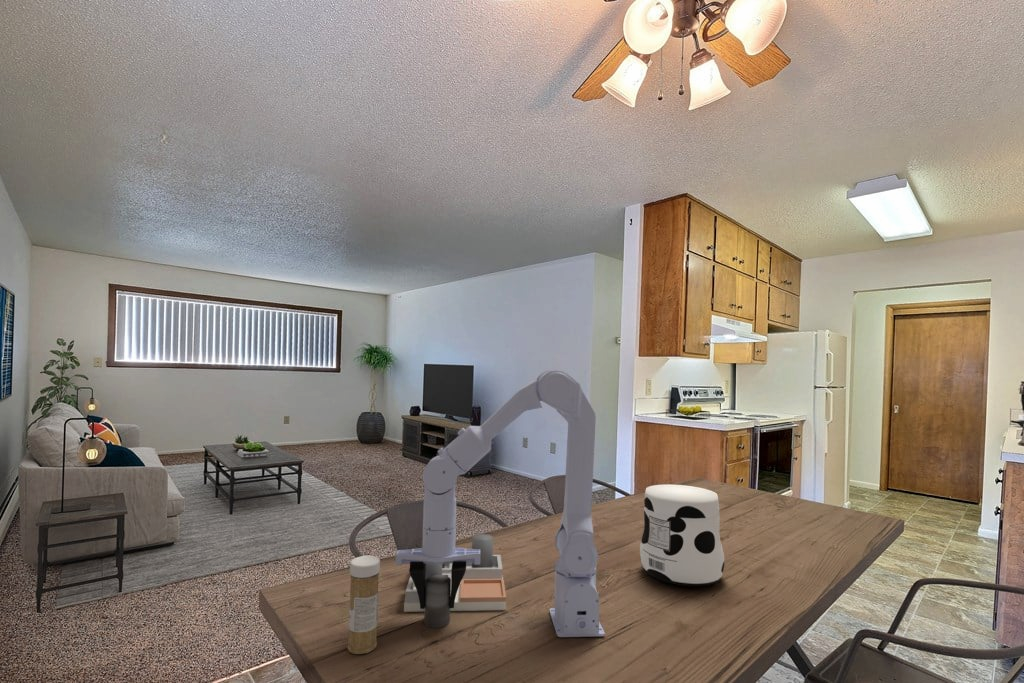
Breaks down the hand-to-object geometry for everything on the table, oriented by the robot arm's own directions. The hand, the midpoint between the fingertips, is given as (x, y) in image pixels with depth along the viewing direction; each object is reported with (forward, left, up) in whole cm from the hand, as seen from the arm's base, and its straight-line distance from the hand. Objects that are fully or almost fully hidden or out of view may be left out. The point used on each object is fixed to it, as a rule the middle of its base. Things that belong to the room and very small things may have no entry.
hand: (437, 606), depth 88 cm
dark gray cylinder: (0, 0, -3) cm, 3 cm away
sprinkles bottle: (-8, +11, -3) cm, 14 cm away
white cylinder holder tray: (+13, -3, -3) cm, 14 cm away
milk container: (+18, -51, -3) cm, 54 cm away
